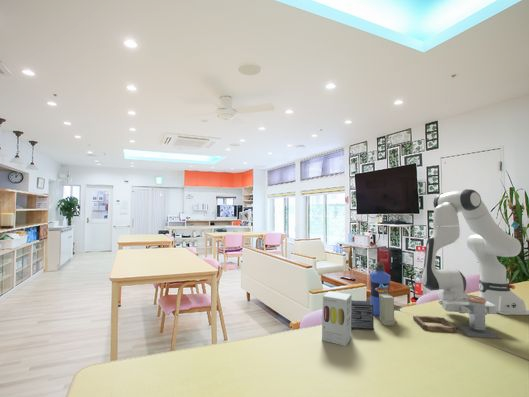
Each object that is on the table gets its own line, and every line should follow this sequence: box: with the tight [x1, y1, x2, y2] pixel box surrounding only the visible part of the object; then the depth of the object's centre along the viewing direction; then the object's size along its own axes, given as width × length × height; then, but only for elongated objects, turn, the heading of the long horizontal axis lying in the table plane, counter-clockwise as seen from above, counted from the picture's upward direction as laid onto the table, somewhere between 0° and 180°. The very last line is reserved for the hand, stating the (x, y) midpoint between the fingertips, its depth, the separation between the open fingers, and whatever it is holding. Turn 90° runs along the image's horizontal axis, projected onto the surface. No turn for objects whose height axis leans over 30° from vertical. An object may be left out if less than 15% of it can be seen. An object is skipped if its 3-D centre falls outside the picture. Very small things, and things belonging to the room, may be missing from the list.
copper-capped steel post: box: [468, 295, 486, 330], centre depth 122 cm, size 6×6×12 cm
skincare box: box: [379, 293, 395, 326], centre depth 131 cm, size 6×4×12 cm
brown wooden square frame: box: [412, 315, 457, 333], centre depth 129 cm, size 13×13×2 cm
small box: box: [351, 299, 375, 331], centre depth 126 cm, size 11×6×10 cm, turn 84°
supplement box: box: [321, 290, 352, 347], centre depth 113 cm, size 10×9×17 cm
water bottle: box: [369, 261, 391, 318], centre depth 143 cm, size 9×9×25 cm
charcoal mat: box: [455, 325, 502, 340], centre depth 122 cm, size 12×10×1 cm
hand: (478, 312), depth 121 cm, fingers closed on copper-capped steel post, 4 cm apart
